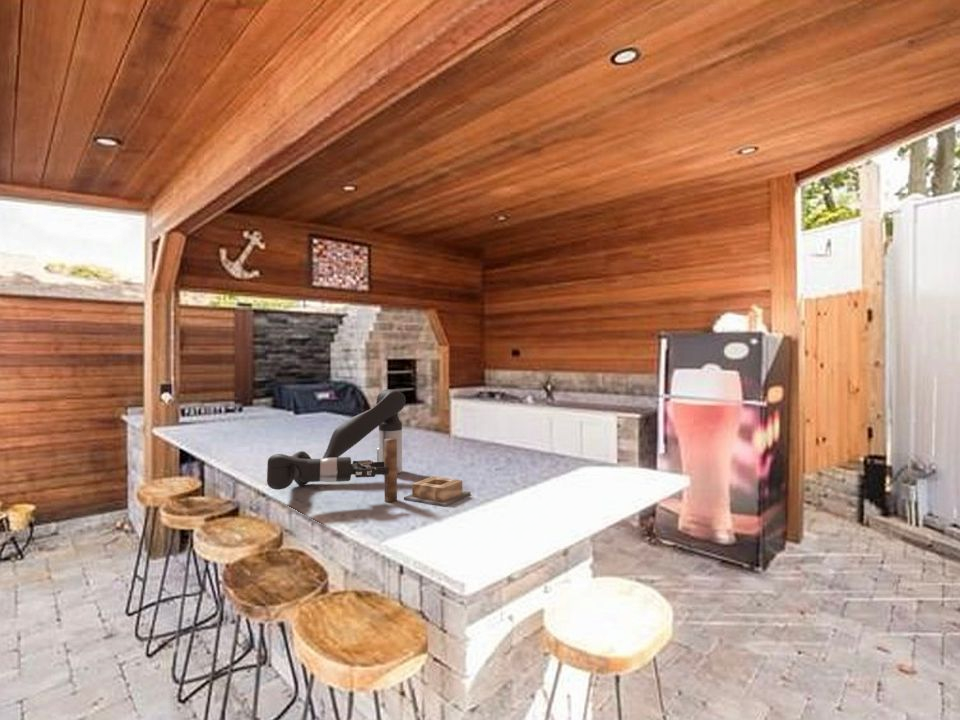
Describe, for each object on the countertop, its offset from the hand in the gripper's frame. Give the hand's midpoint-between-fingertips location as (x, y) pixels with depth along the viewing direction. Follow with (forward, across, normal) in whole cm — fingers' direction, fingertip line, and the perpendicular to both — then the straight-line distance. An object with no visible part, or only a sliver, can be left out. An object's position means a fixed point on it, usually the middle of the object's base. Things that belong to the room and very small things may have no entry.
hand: (386, 467), depth 175 cm
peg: (+2, -1, -11) cm, 11 cm away
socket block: (+17, -1, -10) cm, 20 cm away
